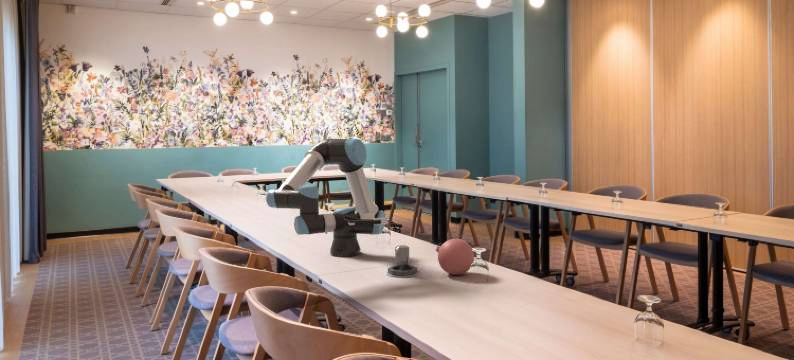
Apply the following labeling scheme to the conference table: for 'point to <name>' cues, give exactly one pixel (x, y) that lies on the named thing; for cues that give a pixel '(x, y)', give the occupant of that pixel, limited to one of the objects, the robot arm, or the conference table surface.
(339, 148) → the robot arm
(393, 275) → the ring plate
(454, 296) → the conference table surface
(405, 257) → the cylinder
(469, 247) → the terracotta rubber ball
